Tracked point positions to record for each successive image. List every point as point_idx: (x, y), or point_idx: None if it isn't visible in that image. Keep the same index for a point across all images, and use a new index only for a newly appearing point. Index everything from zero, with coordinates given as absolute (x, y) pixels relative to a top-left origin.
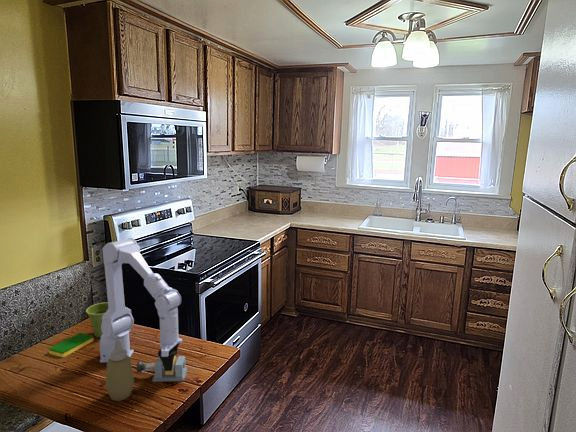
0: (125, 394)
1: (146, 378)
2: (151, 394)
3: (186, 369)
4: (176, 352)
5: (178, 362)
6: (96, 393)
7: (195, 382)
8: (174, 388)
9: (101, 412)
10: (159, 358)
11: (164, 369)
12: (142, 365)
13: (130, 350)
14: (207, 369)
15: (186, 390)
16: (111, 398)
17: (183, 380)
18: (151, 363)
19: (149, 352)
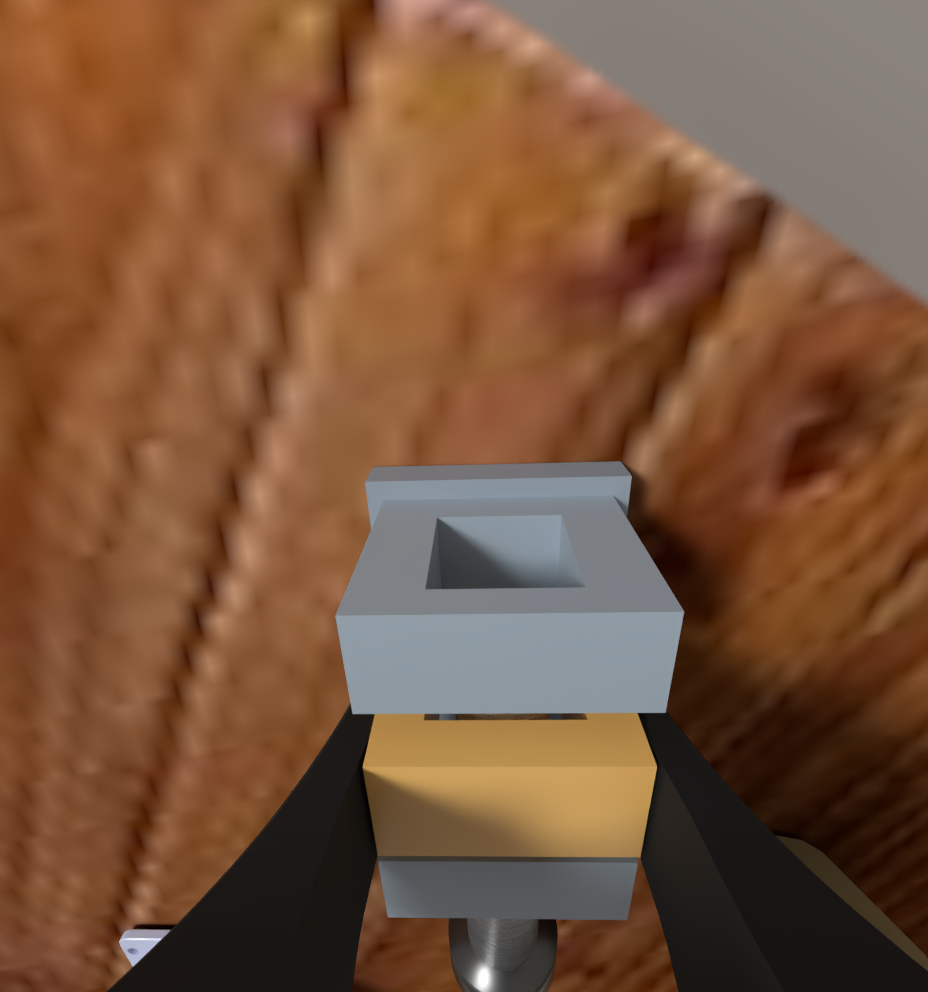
0: (872, 903)
1: None
2: (803, 706)
3: (416, 480)
4: (341, 811)
5: (581, 680)
6: None
7: (680, 295)
8: (757, 534)
9: (921, 916)
10: (444, 904)
11: None
12: (524, 954)
13: (139, 952)
14: (330, 152)
15: (845, 387)
16: None
17: (621, 467)
18: None
19: (110, 840)
